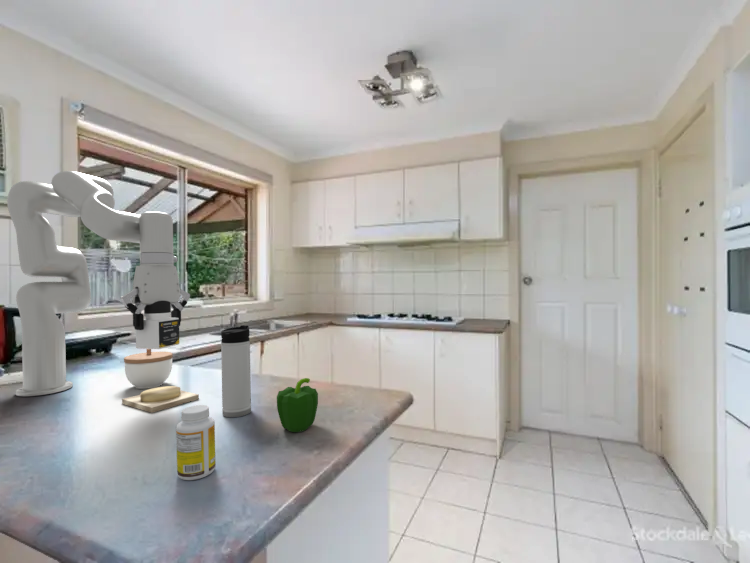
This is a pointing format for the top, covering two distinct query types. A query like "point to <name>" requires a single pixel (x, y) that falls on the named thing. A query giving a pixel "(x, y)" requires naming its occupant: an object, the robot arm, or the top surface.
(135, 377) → the lidded bowl
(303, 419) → the bell pepper
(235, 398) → the travel mug
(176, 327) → the medicine bottle
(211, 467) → the supplement bottle
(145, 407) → the board
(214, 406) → the top surface
